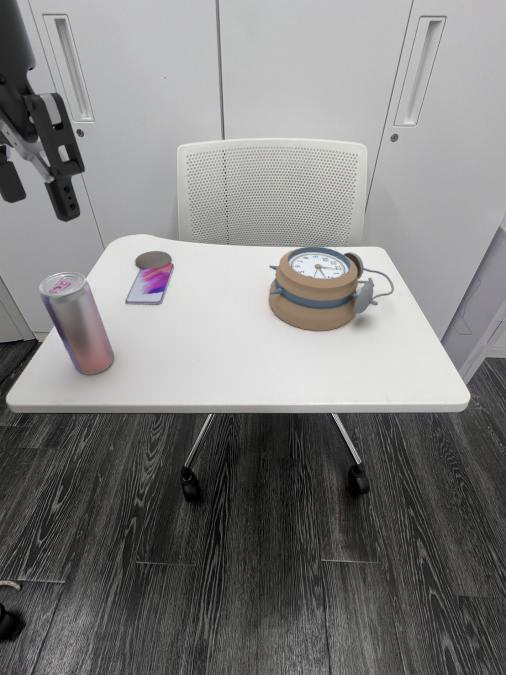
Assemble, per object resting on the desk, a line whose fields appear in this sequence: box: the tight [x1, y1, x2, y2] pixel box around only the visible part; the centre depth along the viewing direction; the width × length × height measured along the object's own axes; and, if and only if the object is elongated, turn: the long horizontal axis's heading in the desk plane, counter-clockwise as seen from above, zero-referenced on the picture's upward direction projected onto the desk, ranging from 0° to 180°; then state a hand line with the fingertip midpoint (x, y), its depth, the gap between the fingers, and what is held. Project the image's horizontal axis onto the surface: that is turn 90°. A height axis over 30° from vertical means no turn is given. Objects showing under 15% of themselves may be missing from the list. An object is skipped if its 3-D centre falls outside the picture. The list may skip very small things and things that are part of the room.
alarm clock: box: [268, 246, 395, 331], centre depth 65 cm, size 17×9×23 cm
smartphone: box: [124, 262, 175, 306], centre depth 71 cm, size 7×1×15 cm
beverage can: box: [38, 271, 115, 375], centre depth 49 cm, size 6×6×15 cm
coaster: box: [134, 250, 172, 269], centre depth 78 cm, size 8×8×1 cm
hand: (42, 209), depth 36 cm, fingers open, 8 cm apart
